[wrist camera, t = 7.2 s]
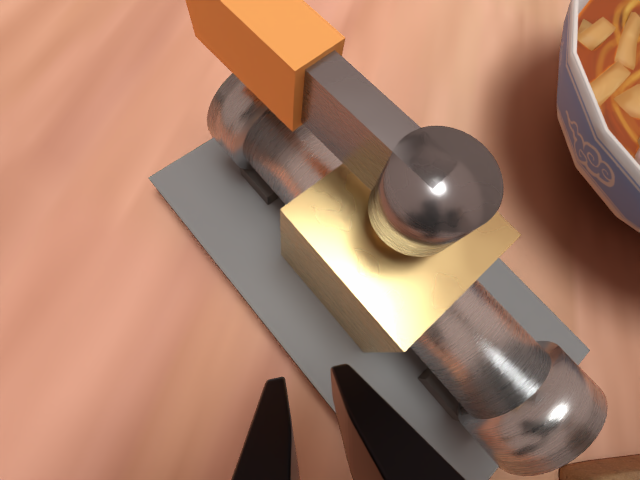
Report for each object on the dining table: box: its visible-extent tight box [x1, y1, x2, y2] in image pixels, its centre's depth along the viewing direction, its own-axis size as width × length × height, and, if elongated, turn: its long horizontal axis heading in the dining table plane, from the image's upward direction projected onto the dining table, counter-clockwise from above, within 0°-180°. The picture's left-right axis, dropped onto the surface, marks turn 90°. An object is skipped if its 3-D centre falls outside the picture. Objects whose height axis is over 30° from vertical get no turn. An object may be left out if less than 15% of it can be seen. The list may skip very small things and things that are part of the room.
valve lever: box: [186, 0, 504, 257], centre depth 11 cm, size 12×3×3 cm, turn 43°
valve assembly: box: [149, 74, 607, 480], centre depth 16 cm, size 22×12×8 cm, turn 41°
